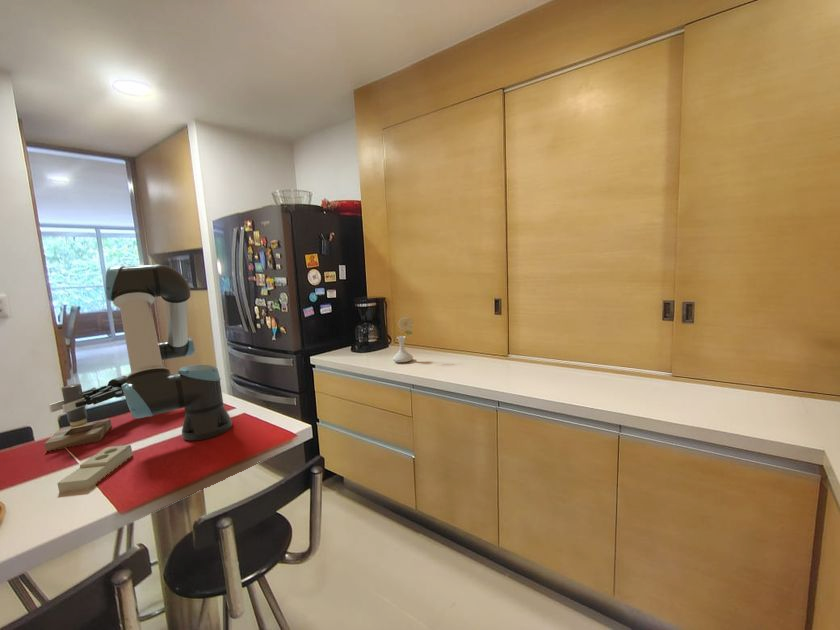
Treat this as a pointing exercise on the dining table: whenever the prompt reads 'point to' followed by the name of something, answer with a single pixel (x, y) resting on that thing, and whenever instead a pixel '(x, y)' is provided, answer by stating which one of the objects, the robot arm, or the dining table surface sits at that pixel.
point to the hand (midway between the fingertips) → (57, 408)
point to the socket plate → (78, 435)
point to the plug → (70, 395)
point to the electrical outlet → (95, 468)
